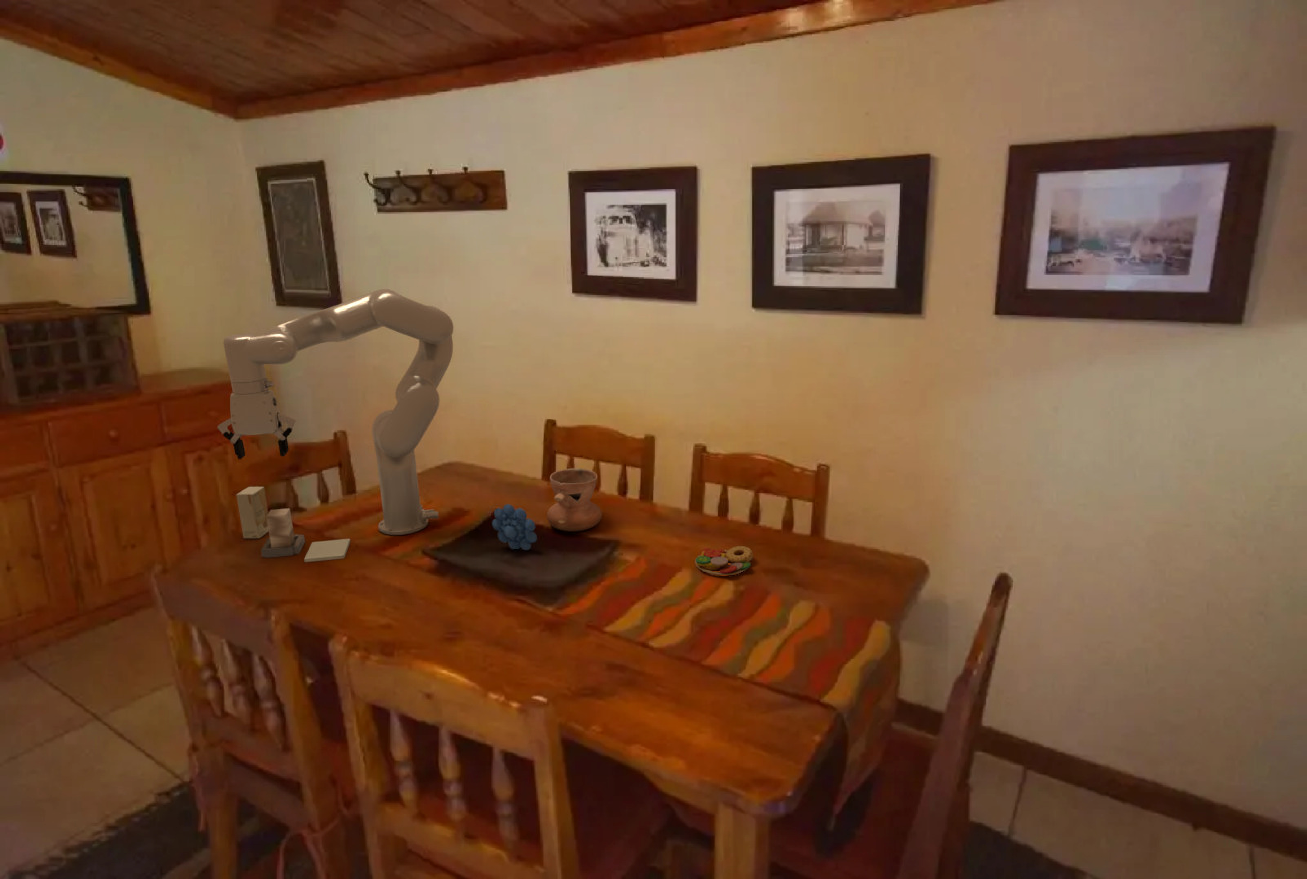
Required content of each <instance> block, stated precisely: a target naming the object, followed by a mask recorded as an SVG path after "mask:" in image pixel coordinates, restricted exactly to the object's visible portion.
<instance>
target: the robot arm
mask: <svg viewBox="0 0 1307 879" xmlns="http://www.w3.org/2000/svg"><path fill="white" fill-rule="evenodd" d="M382 327H384V328H386V329H389V330H391V331H393V332H396V333H399V334H402V335H405V336H407V337H410V338H413V339H416V340H418V348H417V351H416V354H415V355H414V358H413V359H412V361H411V364H409V366H408V368H407V370H406V371H405V374H404V375H403V376H402V378H401V380H400V381H399V383H398V384H397V387H396V388H395V393H394V395H395V399H396V401H397V403H396V404H395V406H394V408H393V409H388V410H387V409H386V410H384V411H383V412H380V413H378V415H377V416H376V417H375V419H374V421H373V423H372V427H371V432H372V440H373V445H374V450H375V459H376V466H377V473H378V481H379V482H378V483H379V490H380V499H381V506H382V513H383V519H382V520H380V522H379V523H378V527H377V528H378V530H379V532H381V533H382V534H385V535H391V536H398V535H399V536H401V535H402V536H403V535H410V534H412V533H417V532H418V531H421V530H422V529H424V528H426V527H427V526H428V523H429V520H430V519H432V520H434V519H435V520H436V519H439V511H438V510H436V511H435V509H434V508H433V509H432V508H431V509H425V508H423V504H421V503H420V502H421V501H420V492H419V482H418V473H417V472H418V471H417V462H416V454H415V450H416V449H417V446H418V445H419V443H420V442H421V440H422V439H423V437H424V435H425V433H426V432H427V430H428V428H429V426H430V425H431V423H432V421H433V420H434V418H435V416H436V414H437V412H438V409H439V407H440V395H439V392H438V390H437V388H438V387H439V385H440V383H441V382H442V380H443V378H444V376H445V374H446V371H447V370H448V367H449V366H450V363H451V360H452V357H453V353H454V352H453V351H454V350H453V349H454V342H453V333H454V323H453V321H452V319H451V317H450V316H449V315H448V314H447V313H446V312H445V311H443V310H441V309H439V308H438V307H436V306H433V305H425V304H423V303H421V302H418V301H416V300H413V299H411V298H408V297H405V296H403V295H401V294H399V293H398V292H396V291H394V290H391V289H388V288H381V289H378V290H374V291H371V292H369V293H366V294H363V295H360V296H358V297H355V298H353V299H351V300H347V301H345V302H341V303H340V304H336V305H332V306H330V307H328V308H325V309H321V310H319V311H316V312H313V313H309V314H307V315H303V316H300V317H297V318H294V319H292V320H288V321H287V322H286V321H285V322H283V323H281V324H278V325H276V326H273V327H271V328H268V329H267V331H265V333H264V334H262V335H257V334H255V333H251V332H250V333H249V332H247V333H235V334H230V335H227V336H226V337H225V338H224V339H223V342H222V344H223V349H224V353H225V359H226V363H227V369H228V373H229V379H230V384H231V389H232V393H230V396H229V397H230V398H229V402H230V403H229V404H230V405H229V406H230V407H229V409H230V418H228V419H227V420H225V421H223V422H221V423H220V424H218V425H217V429H218V430H219V432H220V433H221V434H222V435H223V437H224V438H226V440H228V441H229V442H230V443H231V444H232V445H233V450H234V455H235V456H236V457H237V460H242V458H244V457H245V456H246V450H245V445H244V440H243V439H241V438H242V436H252V435H253V436H255V435H270V434H274V435H275V436H276V437H277V438H278V439H279V440H278V441H277V444H278V450H279V454H280V456H281V457H285V456H286V455H287V454H288V452H289V451H290V449H289V448H290V446H289V442H288V437H289V436H290V435H291V433H292V432H293V431H294V428H295V425H296V424H297V423H296V422H297V421H296V419H295V418H291V417H289V416H287V415H283V414H282V413H281V411H280V407H279V403H278V401H277V397H276V395H275V392H274V390H273V389H270V388H271V387H274V386H275V382H274V380H269V379H268V377H267V372H266V365H286V364H289V363H291V362H292V361H294V359H296V356H297V354H298V352H300V351H302V350H305V349H307V348H311V347H313V346H317V345H319V344H324V343H325V344H326V343H333V342H334V343H339V342H344V341H345V342H346V341H348V340H352V339H354V338H356V337H358V336H361V335H364V334H366V333H369V332H372V331H374V330H377V329H380V328H382ZM284 423H285V424H287V427H286V428H285V429H283V424H284ZM230 425H231V428H232V431H233V432H232V431H230V429H228V427H229V426H230Z"/></svg>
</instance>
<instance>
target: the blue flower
mask: <svg viewBox="0 0 1307 879" xmlns="http://www.w3.org/2000/svg"><path fill="white" fill-rule="evenodd" d="M493 516H494V517H495V519H492V522H491V525H492V528H493V529H494V530H495V531H498V532H497V537H498V540H499V541H500V542H502V543H505V544H506V543H507V542H508V543H507V544H508V547H509V548H510V549H511V550H513V549H518V550H519V549H520V548H521V549H522V550H524V551H528V550H530V549H531V547H532V544H534V543H536V541H537V540H538V537H537V534H536V532H534V531H535V528H536V524H535V522H534V521H533V519H531V518H527V516H528V514H527V512H526V510H524V509H523V508H520V507H518V508H516V509H515V507H514V506H513V505H511V504H509V503H507V504H505V505H503V507H502V508H500V507H498V508H496V509H495V510H494V512H493Z"/></svg>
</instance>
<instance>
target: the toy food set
mask: <svg viewBox="0 0 1307 879" xmlns="http://www.w3.org/2000/svg"><path fill="white" fill-rule="evenodd" d="M753 556H754V554H753V551H752V549H751V548H749V547H747V546H744V545H743V546H742V545H741V546H739V545H738V546H733V547H730V548H729V549H728V550H726V549H711V548H709V547H708V548H707V547H706V548H704V549H703V550H702V551H700V554H699V555H698V556H697V557H696V558H695V561H694V563H695V566H696V567H697V568H698V569H699V570H700V571H701V570H702V572H703V571H704V572H707V573H709V574H713V575H734V574H738V573H741V572H743V571H744V572H745V571H746V570H748V569H749V568H750V567H751V562H750V561H751V560H753ZM728 563H731V564H730V565H728ZM713 571H720V572H713ZM704 572H703V573H704ZM744 572H743V573H744ZM709 574H708V575H709ZM741 574H742V573H741ZM713 575H712V576H713ZM738 575H739V574H738Z"/></svg>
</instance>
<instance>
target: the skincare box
mask: <svg viewBox="0 0 1307 879" xmlns="http://www.w3.org/2000/svg"><path fill="white" fill-rule="evenodd" d="M235 495H236V500H237V507H238V511H239V517H240V518H239V519H240V524H241V530H242V536H243V537H242V538H243V539H260V538H261V537H263V536H264V535H266V534H267V533H269V530H268V524H267V518H266V516H267V515H268V513H269V510H268V504H267V498H266V497H267V496H266V491H265V486H248V487H246V488H244V489H243V490H241V491H240V492H238V493H236V494H235Z"/></svg>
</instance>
